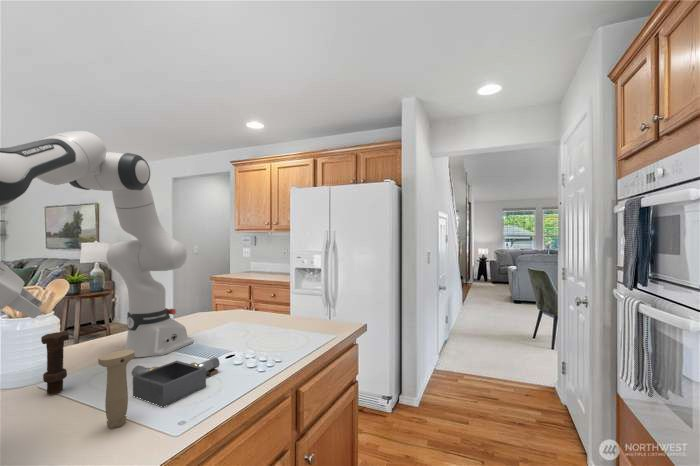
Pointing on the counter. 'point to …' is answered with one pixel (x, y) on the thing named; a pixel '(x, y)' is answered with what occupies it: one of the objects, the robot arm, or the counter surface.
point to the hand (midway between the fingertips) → (38, 310)
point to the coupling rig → (171, 380)
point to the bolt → (54, 361)
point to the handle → (116, 386)
